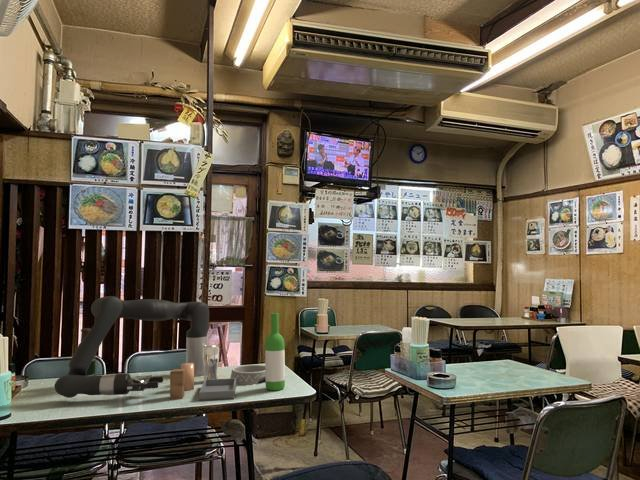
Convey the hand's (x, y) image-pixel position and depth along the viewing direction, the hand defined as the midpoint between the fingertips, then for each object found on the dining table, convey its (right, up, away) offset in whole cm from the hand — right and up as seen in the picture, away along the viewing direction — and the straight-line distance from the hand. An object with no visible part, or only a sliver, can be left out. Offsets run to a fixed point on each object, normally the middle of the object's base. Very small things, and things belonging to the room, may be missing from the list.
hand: (160, 382), depth 174 cm
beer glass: (+13, -8, +25) cm, 29 cm away
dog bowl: (+30, -8, +27) cm, 41 cm away
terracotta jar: (+7, -7, +12) cm, 16 cm away
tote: (+21, -6, +6) cm, 22 cm away
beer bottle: (-39, -8, +20) cm, 45 cm away
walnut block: (+6, -6, 0) cm, 9 cm away
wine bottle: (+42, -6, +11) cm, 44 cm away
